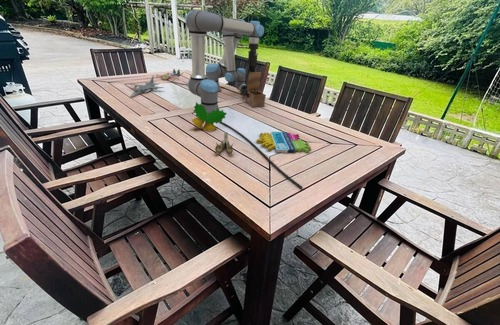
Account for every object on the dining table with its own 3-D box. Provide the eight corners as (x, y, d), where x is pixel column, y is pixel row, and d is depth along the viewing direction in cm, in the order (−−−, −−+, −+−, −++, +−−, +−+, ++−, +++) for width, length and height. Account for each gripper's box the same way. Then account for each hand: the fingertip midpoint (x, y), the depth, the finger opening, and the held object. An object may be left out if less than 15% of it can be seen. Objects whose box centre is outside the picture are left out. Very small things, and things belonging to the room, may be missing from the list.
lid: (261, 72, 209) (257, 68, 215) (250, 72, 205) (246, 68, 211) (258, 90, 218) (254, 85, 224) (247, 90, 214) (243, 85, 220)
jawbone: (234, 135, 144) (233, 125, 135) (233, 160, 138) (232, 151, 129) (217, 135, 144) (216, 125, 135) (216, 160, 138) (214, 150, 129)
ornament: (218, 133, 171) (224, 110, 169) (221, 134, 163) (227, 111, 161) (186, 125, 162) (192, 101, 160) (189, 126, 155) (195, 101, 153)
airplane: (124, 87, 237) (122, 75, 232) (159, 84, 250) (158, 74, 245) (128, 99, 208) (126, 87, 203) (168, 96, 222) (167, 84, 217)
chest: (264, 106, 212) (265, 94, 208) (253, 107, 209) (253, 95, 204) (257, 101, 224) (258, 90, 219) (246, 102, 220) (247, 90, 215)
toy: (188, 70, 290) (175, 74, 264) (188, 76, 294) (176, 81, 268) (165, 67, 295) (150, 71, 269) (166, 74, 299) (151, 78, 273)
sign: (313, 150, 142) (258, 149, 139) (312, 153, 143) (258, 152, 140) (301, 132, 164) (254, 130, 161) (301, 134, 165) (254, 133, 162)
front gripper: (262, 44, 198) (260, 76, 209) (253, 42, 212) (251, 72, 223) (253, 44, 195) (251, 76, 206) (245, 42, 209) (243, 72, 220)
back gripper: (255, 92, 239) (266, 99, 221) (232, 93, 231) (241, 100, 213) (256, 84, 235) (267, 90, 218) (232, 85, 227) (241, 91, 209)
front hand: (251, 74), depth 215 cm, fingers open, 4 cm apart
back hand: (254, 95), depth 215 cm, fingers closed on chest, 10 cm apart
